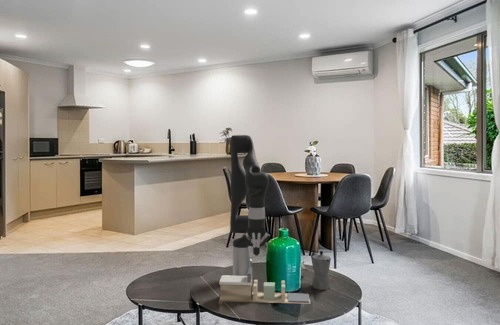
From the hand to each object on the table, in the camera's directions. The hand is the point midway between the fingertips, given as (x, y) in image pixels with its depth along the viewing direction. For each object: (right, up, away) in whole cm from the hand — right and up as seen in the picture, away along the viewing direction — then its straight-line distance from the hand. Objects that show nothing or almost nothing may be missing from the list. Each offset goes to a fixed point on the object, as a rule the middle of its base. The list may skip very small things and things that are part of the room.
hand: (256, 255), depth 178 cm
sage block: (+6, -19, 0) cm, 20 cm away
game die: (+23, -20, +34) cm, 46 cm away
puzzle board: (+4, -20, 0) cm, 21 cm away
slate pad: (+19, -19, -1) cm, 27 cm away
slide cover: (-9, -12, +1) cm, 15 cm away
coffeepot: (+32, -20, +19) cm, 42 cm away
